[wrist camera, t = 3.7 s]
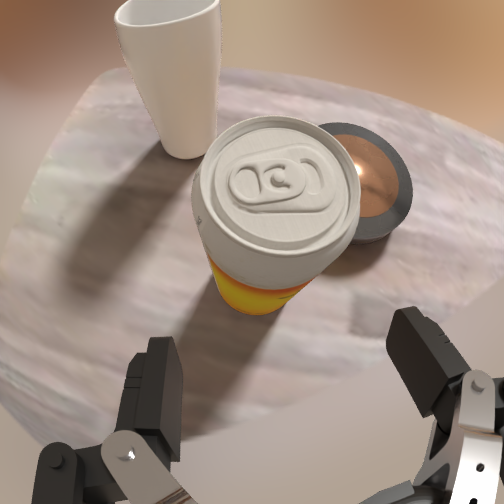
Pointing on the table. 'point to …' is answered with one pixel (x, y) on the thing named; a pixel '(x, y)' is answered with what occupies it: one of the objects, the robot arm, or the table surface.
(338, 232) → the beer can
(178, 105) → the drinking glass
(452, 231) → the table surface
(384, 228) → the disc
